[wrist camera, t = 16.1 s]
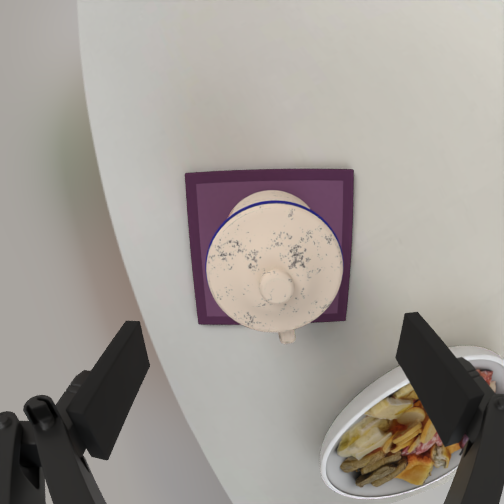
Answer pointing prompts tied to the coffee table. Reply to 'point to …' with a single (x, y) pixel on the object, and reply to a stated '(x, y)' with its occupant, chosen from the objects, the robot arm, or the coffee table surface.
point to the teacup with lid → (274, 264)
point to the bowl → (395, 436)
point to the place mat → (252, 181)
